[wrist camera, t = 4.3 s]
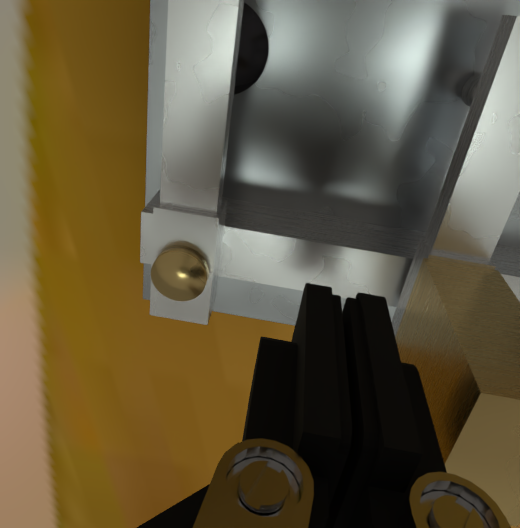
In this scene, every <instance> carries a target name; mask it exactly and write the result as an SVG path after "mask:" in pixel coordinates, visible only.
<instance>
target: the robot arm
mask: <svg viewBox="0 0 520 528" xmlns="http://www.w3.org/2000/svg"><path fill="white" fill-rule="evenodd" d="M137 528H511V526H510V524H509V522H508V521H507V519H506V517H505V515H504V514H503V512H502V511H501V509H500V508H499V506H498V505H497V503H496V502H495V501H494V500H493V499H492V498H491V497H490V496H489V495H488V494H487V493H486V492H485V491H484V490H482V489H481V488H479V487H478V486H476V485H475V484H474V483H472V482H471V481H469V480H467V479H464V478H462V477H460V476H457V475H455V474H450V473H447V471H446V467H445V464H444V460H443V457H442V453H441V450H440V446H439V443H438V439H437V435H436V432H435V428H434V425H433V421H432V418H431V414H430V410H429V407H428V403H427V400H426V396H425V393H424V389H423V386H422V382H421V378H420V375H419V372H418V369H417V367H416V366H415V365H413V364H408V363H403V362H401V360H400V355H399V351H398V347H397V343H396V339H395V335H394V330H393V326H392V322H391V318H390V314H389V309H388V305H387V301H386V298H385V297H382V296H377V295H371V294H366V293H360V292H359V293H357V295H356V297H355V298H350V297H347V299H346V301H345V304H344V308H343V311H342V304H341V296H339V295H333V294H332V288H331V287H327V286H322V285H316V284H311V283H306V284H305V287H304V291H303V295H302V299H301V304H300V308H299V312H298V316H297V321H296V325H295V329H294V333H293V338H292V342H288V341H283V340H277V339H272V338H267V337H261V338H260V343H259V348H258V354H257V359H256V364H255V369H254V375H253V380H252V386H251V392H250V397H249V403H248V409H247V416H246V422H245V428H244V434H243V440H242V442H240V443H237V444H235V445H234V446H233V447H231V448H230V449H229V450H228V451H226V452H225V453H224V455H223V456H222V458H221V460H220V461H219V463H218V465H217V467H216V470H215V473H214V475H213V478H212V480H211V483H210V484H209V485H207V486H206V487H204V488H202V489H201V490H199V491H197V492H196V493H194V494H192V495H191V496H189V497H187V498H186V499H184V500H182V501H181V502H179V503H177V504H175V505H174V506H172V507H170V508H169V509H167V510H165V511H164V512H162V513H160V514H159V515H157V516H155V517H154V518H152V519H150V520H149V521H147V522H145V523H144V524H142V525H140V526H139V527H137Z"/></svg>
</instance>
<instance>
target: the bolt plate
mask: <svg viewBox="0 0 520 528" xmlns="http://www.w3.org/2000/svg"><path fill="white" fill-rule="evenodd" d="M502 15H511V16H520V0H150V38H149V78H148V119H147V159H146V199H145V208H144V209H143V210H142V212H141V251H140V262H141V263H144V280H143V299H148V300H150V315H154V316H159V317H165V318H171V319H176V320H182V321H188V322H193V323H199V324H205V325H208V322H209V319H210V316H211V312H212V311H216V312H221V313H227V314H233V315H239V316H244V317H250V318H256V319H261V320H267V321H273V322H278V323H284V324H290V325H296V321H297V316H298V312H299V308H300V304H301V299H302V295H303V291H304V287H305V284H306V283H311V284H316V285H322V286H327V287H331V288H332V294H333V295H339V296H341V304H342V311H343V308H344V304H345V301H346V299H347V297H350V298H355V297H356V295H357V293H359V292H360V293H366V294H371V295H377V296H382V297H385V298H386V301H387V305H388V309H389V314H390V318H391V322H392V319H393V316H394V313H395V310H396V307H397V304H398V301H399V298H400V296H401V293H402V290H403V287H404V284H405V281H406V278H407V275H408V272H409V270H410V267H411V264H412V261H413V258H414V255H415V252H416V249H417V246H418V243H419V241H420V238H421V237H425V235H426V232H427V229H428V227H429V224H430V221H431V218H432V215H433V212H434V209H435V207H436V204H437V201H438V198H439V195H440V192H441V189H442V187H443V184H444V181H445V178H446V175H447V172H448V169H449V167H450V164H451V161H452V158H453V155H454V152H455V149H456V147H457V144H458V141H459V138H460V135H461V132H462V129H463V127H464V124H465V121H466V118H467V115H468V112H469V109H470V107H469V106H467V105H466V104H465V103H464V102H463V101H462V99H461V89H462V86H463V84H464V83H465V82H466V81H467V80H468V79H469V78H470V77H472V76H474V75H479V74H482V72H483V70H484V67H485V64H486V61H487V58H488V55H489V52H490V50H491V47H492V44H493V41H494V38H495V35H496V32H497V30H498V27H499V24H500V21H501V18H502ZM491 260H492V261H493V263H494V264H495V266H496V267H495V270H497V271H499V272H500V274H501V275H502V277H503V278H504V280H505V281H506V282H507V284H508V285H509V287H510V288H511V290H512V291H513V293H514V294H515V296H516V297H517V299H518V300H519V302H520V192H519V194H518V197H517V199H516V201H515V203H514V206H513V208H512V210H511V213H510V215H509V217H508V219H507V222H506V224H505V226H504V229H503V231H502V233H501V235H500V238H499V240H498V242H497V245H496V247H495V249H494V251H493V254H492V256H491Z"/></svg>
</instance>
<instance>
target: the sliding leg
mask: <svg viewBox="0 0 520 528" xmlns="http://www.w3.org/2000/svg"><path fill="white" fill-rule="evenodd" d="M461 99H462V101H463V102H464V103H465V104H466V105H467V106H469V107H470V109H469V112H468V115H467V118H466V121H465V124H464V127H463V129H462V132H461V135H460V138H459V141H458V144H457V147H456V149H455V152H454V155H453V158H452V161H451V164H450V167H449V169H448V172H447V175H446V178H445V181H444V184H443V187H442V189H441V192H440V195H439V198H438V201H437V204H436V207H435V209H434V212H433V215H432V218H431V221H430V224H429V227H428V229H427V232H426V235H425V237H421V238H420V241H419V243H418V246H417V249H416V252H415V255H414V258H413V261H412V264H411V267H410V270H409V272H408V275H407V278H406V281H405V284H404V287H403V290H402V293H401V296H400V298H399V301H398V304H397V307H396V310H395V313H394V316H393V319H392V326H393V330H394V335H395V339H396V343H397V347H398V351H399V355H400V360H401V362H403V363H408V364H413V365H415V366H416V367H417V369H418V372H419V375H420V378H421V382H422V386H423V389H424V393H425V396H426V400H427V403H428V407H429V410H430V414H431V418H432V421H433V425H434V428H435V432H436V435H437V439H438V443H439V446H440V450H441V453H442V457H443V460H444V464H445V467H446V471H447V473H450V474H455V475H457V476H460V477H462V478H464V479H467V480H469V481H471V482H472V483H474V484H475V485H476V486H478V487H479V488H481V489H482V490H484V491H485V492H486V493H487V494H488V495H489V496H490V497H491V498H492V499H493V500H494V501H495V502H496V503H497V505H498V506H499V508H500V509H501V511H502V512H503V514H504V515H505V517H506V519H507V521H508V522H509V524H510V525H512V526H518V525H519V524H520V302H519V300H518V299H517V297H516V296H515V294H514V293H513V291H512V290H511V288H510V287H509V285H508V284H507V282H506V281H505V280H504V278H503V277H502V275H501V274H500V272H499V271H497V270H495V267H496V266H495V264H494V263H493V261H492V260H491V256H492V254H493V251H494V249H495V247H496V245H497V242H498V240H499V238H500V235H501V233H502V231H503V229H504V226H505V224H506V222H507V219H508V217H509V215H510V213H511V210H512V208H513V206H514V203H515V201H516V199H517V197H518V194H519V192H520V16H511V15H502V18H501V21H500V24H499V27H498V30H497V32H496V35H495V38H494V41H493V44H492V47H491V50H490V52H489V55H488V58H487V61H486V64H485V67H484V70H483V72H482V74H479V75H474V76H472V77H470V78H469V79H468V80H467V81H466V82H465V83H464V84H463V86H462V89H461Z"/></svg>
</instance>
